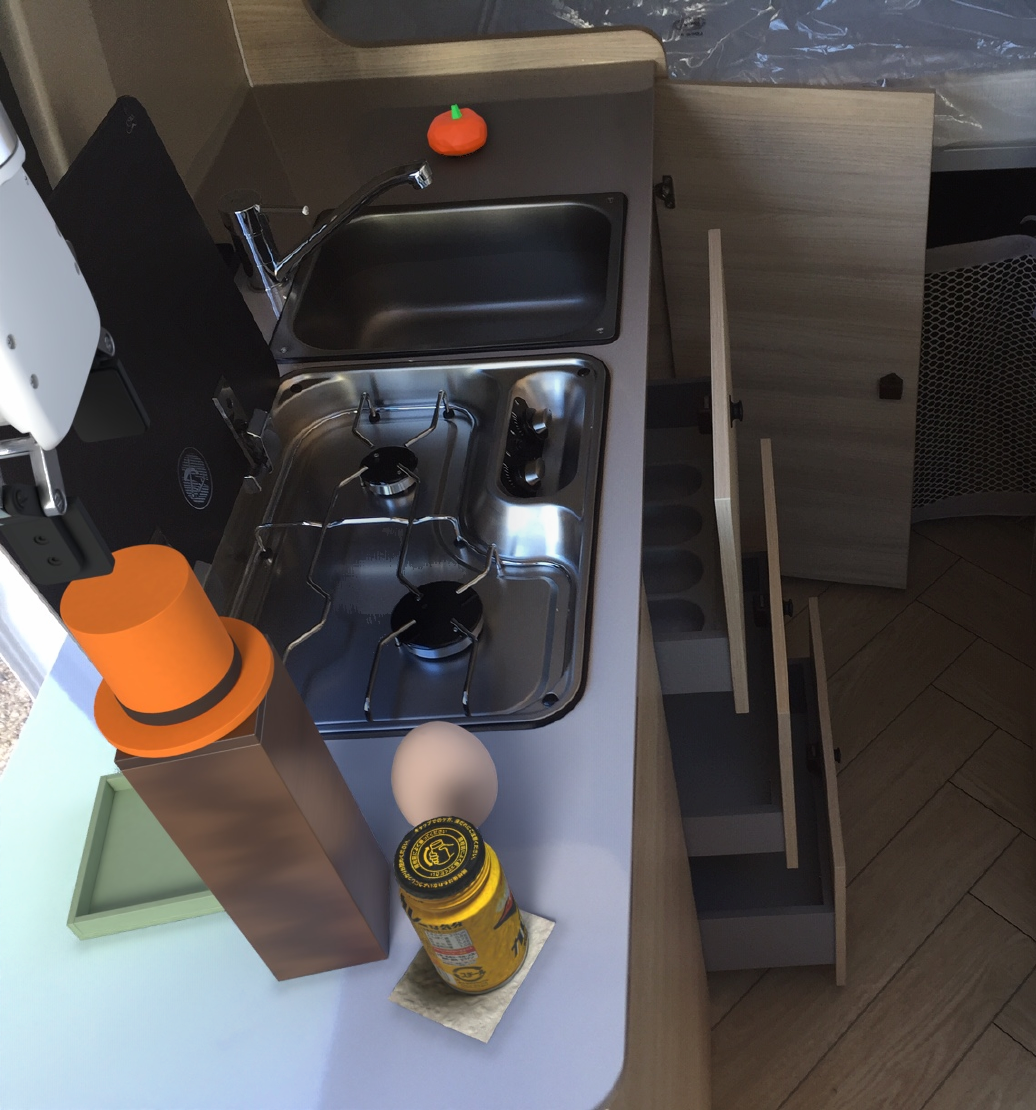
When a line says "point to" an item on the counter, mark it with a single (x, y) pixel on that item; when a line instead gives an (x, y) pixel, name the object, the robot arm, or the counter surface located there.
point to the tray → (132, 869)
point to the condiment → (462, 928)
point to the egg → (443, 775)
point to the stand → (276, 836)
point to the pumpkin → (457, 132)
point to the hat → (164, 655)
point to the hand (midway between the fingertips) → (99, 500)
